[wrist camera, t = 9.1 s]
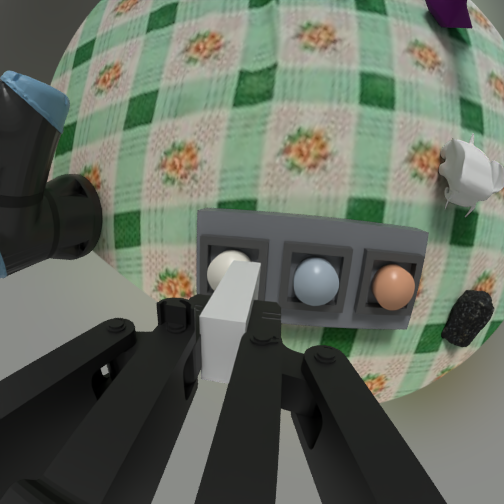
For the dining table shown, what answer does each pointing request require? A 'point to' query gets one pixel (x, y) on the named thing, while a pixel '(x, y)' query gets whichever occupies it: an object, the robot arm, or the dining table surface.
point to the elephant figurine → (469, 173)
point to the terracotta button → (392, 286)
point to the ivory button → (223, 265)
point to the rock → (468, 317)
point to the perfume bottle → (450, 13)
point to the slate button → (315, 281)
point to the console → (314, 245)
